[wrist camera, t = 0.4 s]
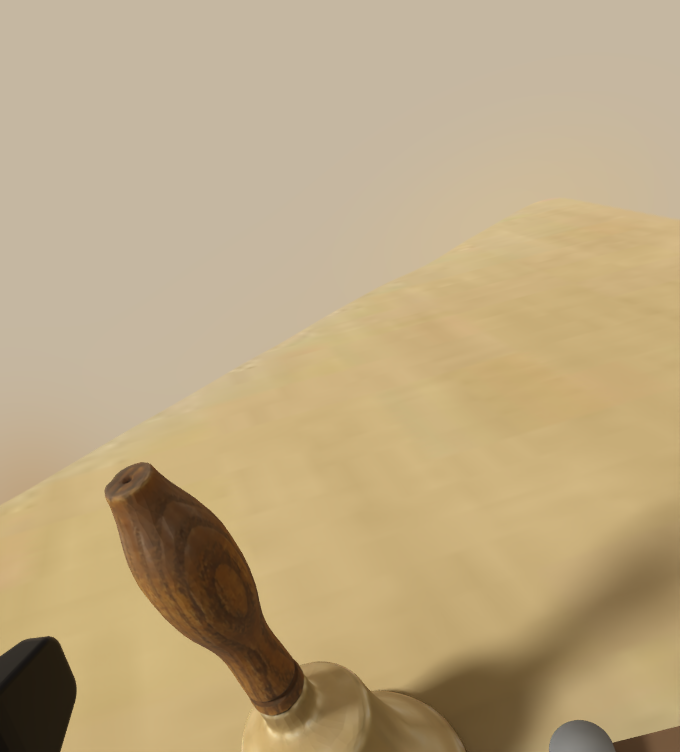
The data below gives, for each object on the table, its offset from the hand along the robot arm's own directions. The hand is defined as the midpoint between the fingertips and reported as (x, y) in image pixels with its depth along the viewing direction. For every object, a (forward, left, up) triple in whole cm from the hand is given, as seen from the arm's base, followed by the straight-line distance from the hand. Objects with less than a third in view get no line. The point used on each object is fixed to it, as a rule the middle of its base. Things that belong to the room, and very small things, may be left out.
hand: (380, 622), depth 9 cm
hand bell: (+7, +6, -17) cm, 19 cm away
